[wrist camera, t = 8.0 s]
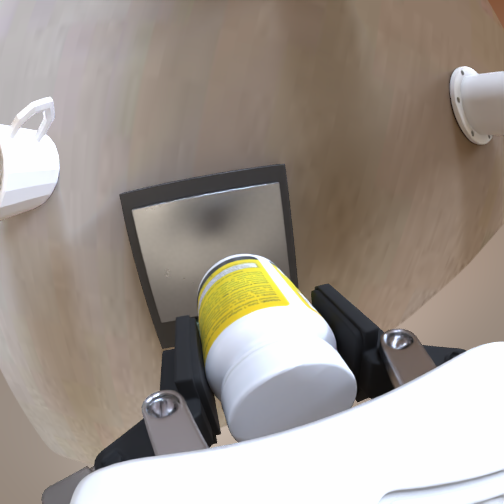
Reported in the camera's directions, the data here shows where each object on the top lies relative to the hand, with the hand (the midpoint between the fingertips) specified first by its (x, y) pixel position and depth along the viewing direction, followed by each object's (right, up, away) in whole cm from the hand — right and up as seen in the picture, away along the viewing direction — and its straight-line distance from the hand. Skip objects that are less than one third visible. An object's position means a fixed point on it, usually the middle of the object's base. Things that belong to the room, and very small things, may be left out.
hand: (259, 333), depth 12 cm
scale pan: (-4, +3, +15) cm, 16 cm away
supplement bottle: (-1, +1, +4) cm, 4 cm away
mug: (-21, +13, +10) cm, 27 cm away
